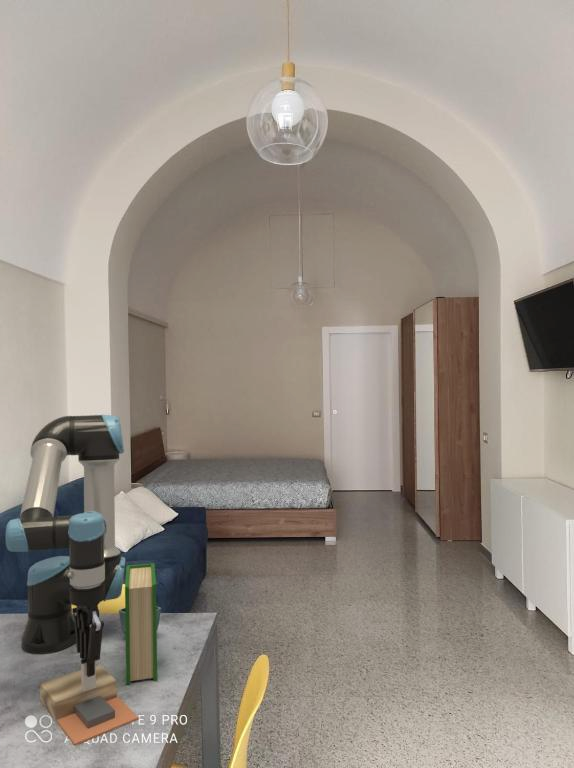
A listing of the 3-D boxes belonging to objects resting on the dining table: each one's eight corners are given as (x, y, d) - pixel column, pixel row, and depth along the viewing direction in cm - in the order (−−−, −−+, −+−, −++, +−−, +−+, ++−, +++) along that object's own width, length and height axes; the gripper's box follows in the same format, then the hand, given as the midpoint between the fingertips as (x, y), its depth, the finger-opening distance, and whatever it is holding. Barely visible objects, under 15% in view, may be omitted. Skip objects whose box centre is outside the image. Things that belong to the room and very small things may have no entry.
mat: (56, 721, 125) (56, 720, 125) (117, 698, 134) (117, 696, 134) (74, 745, 117) (74, 743, 117) (138, 719, 126) (138, 717, 126)
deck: (39, 700, 134) (39, 683, 134) (98, 679, 143) (98, 663, 143) (55, 720, 126) (55, 702, 126) (116, 697, 135) (116, 680, 135)
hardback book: (157, 681, 142) (156, 584, 142) (126, 685, 140) (124, 587, 140) (155, 649, 159) (154, 563, 159) (127, 653, 157) (126, 565, 157)
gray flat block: (74, 712, 128) (74, 705, 128) (100, 702, 132) (100, 695, 132) (88, 728, 122) (88, 721, 122) (115, 717, 126) (115, 710, 126)
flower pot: (143, 630, 171) (143, 600, 171) (162, 638, 166) (161, 607, 166) (118, 641, 165) (117, 609, 165) (136, 649, 159) (136, 617, 159)
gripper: (60, 580, 132) (61, 682, 132) (81, 595, 122) (82, 706, 122) (92, 572, 137) (93, 671, 137) (115, 587, 127) (116, 693, 127)
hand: (88, 688), depth 129 cm, fingers closed
